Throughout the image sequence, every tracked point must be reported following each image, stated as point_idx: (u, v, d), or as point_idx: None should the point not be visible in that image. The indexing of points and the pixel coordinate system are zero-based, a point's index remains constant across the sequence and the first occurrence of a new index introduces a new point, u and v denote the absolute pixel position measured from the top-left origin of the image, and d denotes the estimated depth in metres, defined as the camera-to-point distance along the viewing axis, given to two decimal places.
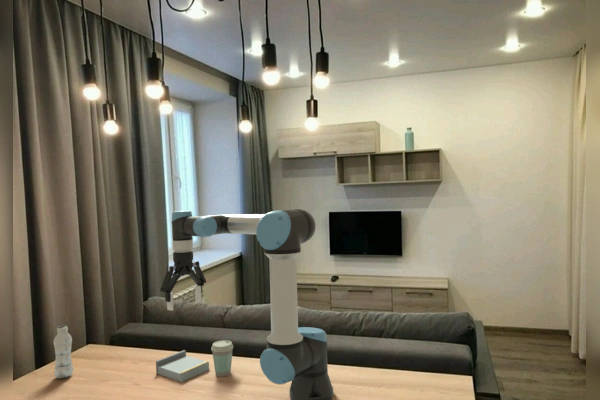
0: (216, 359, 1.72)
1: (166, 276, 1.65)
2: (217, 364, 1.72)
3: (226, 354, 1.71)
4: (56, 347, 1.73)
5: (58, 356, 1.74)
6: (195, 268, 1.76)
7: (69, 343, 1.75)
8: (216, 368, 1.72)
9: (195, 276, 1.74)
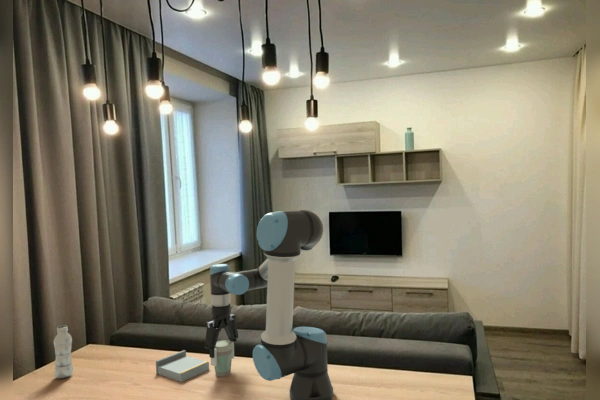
0: None
1: (207, 333, 1.69)
2: (217, 364, 1.72)
3: (226, 354, 1.71)
4: (56, 347, 1.73)
5: (58, 356, 1.74)
6: (231, 321, 1.79)
7: (69, 343, 1.75)
8: (216, 368, 1.72)
9: (230, 330, 1.77)
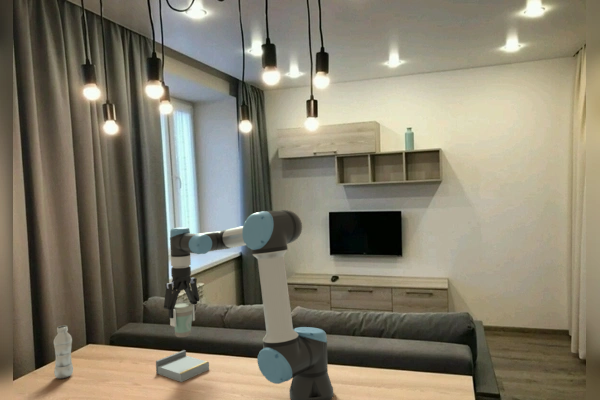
0: None
1: (166, 293, 1.72)
2: (176, 325, 1.75)
3: (185, 315, 1.74)
4: (56, 347, 1.73)
5: (58, 356, 1.74)
6: (192, 284, 1.82)
7: (69, 343, 1.75)
8: (175, 329, 1.75)
9: (190, 293, 1.80)
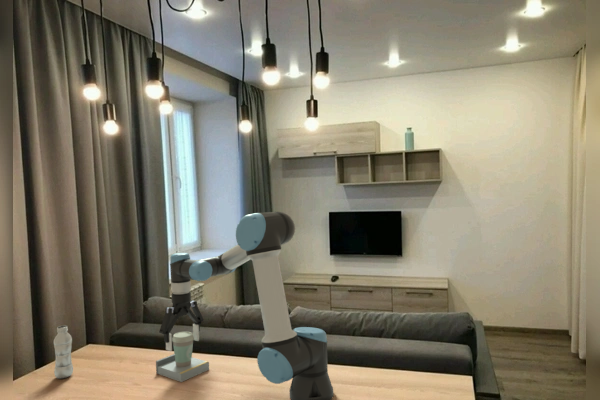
0: (176, 350, 1.75)
1: (165, 318, 1.71)
2: (177, 354, 1.75)
3: (186, 345, 1.74)
4: (56, 347, 1.73)
5: (58, 356, 1.74)
6: (193, 307, 1.83)
7: (69, 343, 1.75)
8: (176, 359, 1.75)
9: (193, 316, 1.81)
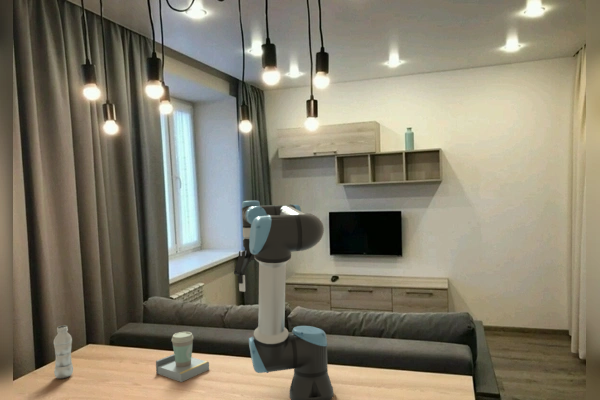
0: (175, 350, 1.75)
1: (239, 260, 1.81)
2: (177, 355, 1.75)
3: (186, 345, 1.74)
4: (56, 347, 1.73)
5: (58, 356, 1.74)
6: None
7: (69, 343, 1.75)
8: (176, 359, 1.75)
9: None
